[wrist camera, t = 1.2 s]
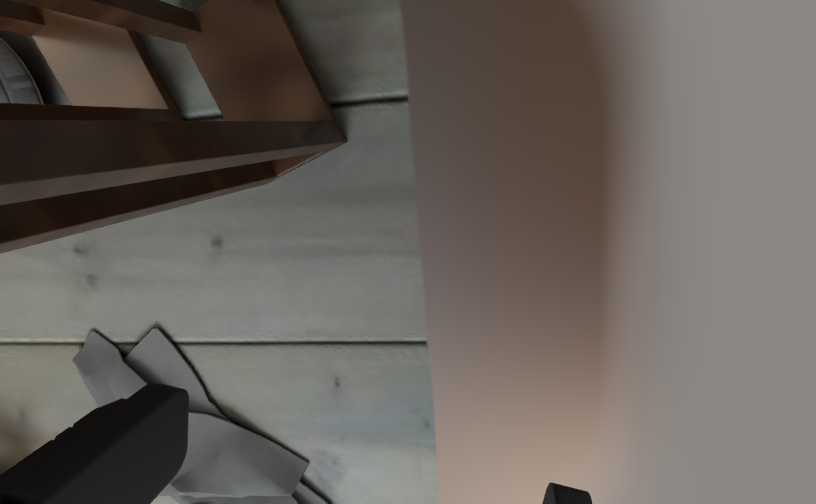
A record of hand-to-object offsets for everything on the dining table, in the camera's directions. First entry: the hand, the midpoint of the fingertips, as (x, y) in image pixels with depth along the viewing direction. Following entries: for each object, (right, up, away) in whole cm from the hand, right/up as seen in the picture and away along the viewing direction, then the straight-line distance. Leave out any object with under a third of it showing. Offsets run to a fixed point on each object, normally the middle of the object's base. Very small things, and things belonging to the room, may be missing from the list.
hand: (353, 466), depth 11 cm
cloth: (-17, -12, +33) cm, 39 cm away
